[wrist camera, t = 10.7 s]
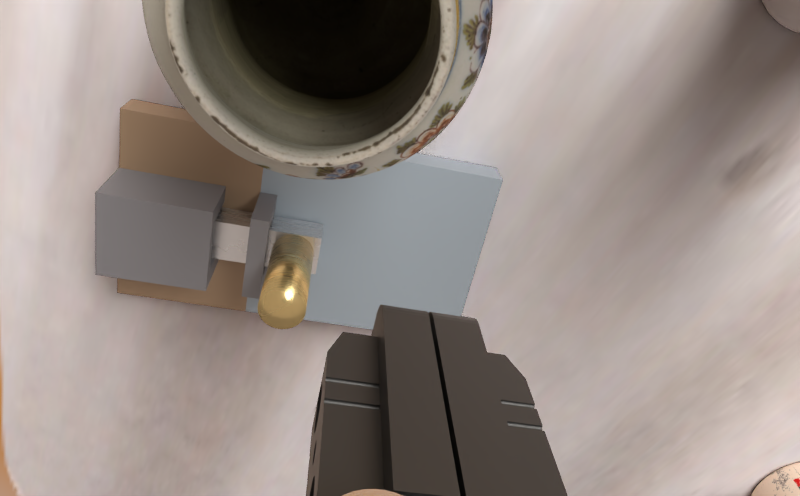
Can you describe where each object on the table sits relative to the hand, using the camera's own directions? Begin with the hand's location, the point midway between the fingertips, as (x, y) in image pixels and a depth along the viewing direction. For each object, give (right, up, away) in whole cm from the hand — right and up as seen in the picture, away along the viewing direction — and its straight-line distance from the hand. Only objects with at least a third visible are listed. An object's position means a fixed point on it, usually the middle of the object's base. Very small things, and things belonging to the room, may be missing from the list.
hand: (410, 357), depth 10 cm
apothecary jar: (-4, +16, +24) cm, 29 cm away
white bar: (-10, +3, +28) cm, 30 cm away
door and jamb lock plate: (-6, +3, +31) cm, 31 cm away
